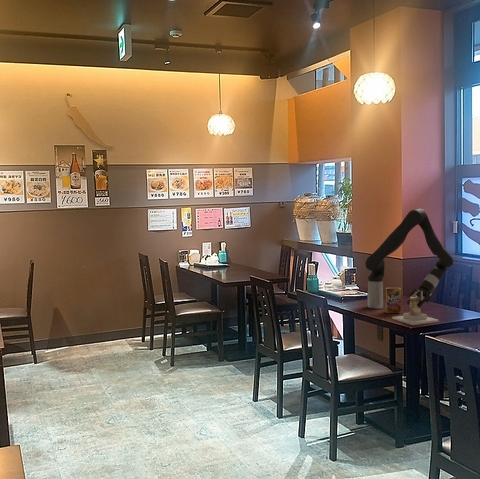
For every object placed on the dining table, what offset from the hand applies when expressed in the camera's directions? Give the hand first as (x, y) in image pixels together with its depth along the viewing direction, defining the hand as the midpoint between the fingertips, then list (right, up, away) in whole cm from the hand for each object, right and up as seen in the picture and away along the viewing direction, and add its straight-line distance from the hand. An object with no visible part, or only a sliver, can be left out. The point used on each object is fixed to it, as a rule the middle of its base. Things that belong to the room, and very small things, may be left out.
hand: (413, 305), depth 331 cm
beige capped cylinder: (+2, -8, +1) cm, 8 cm away
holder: (+1, -9, +1) cm, 9 cm away
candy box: (-5, -7, +24) cm, 26 cm away
